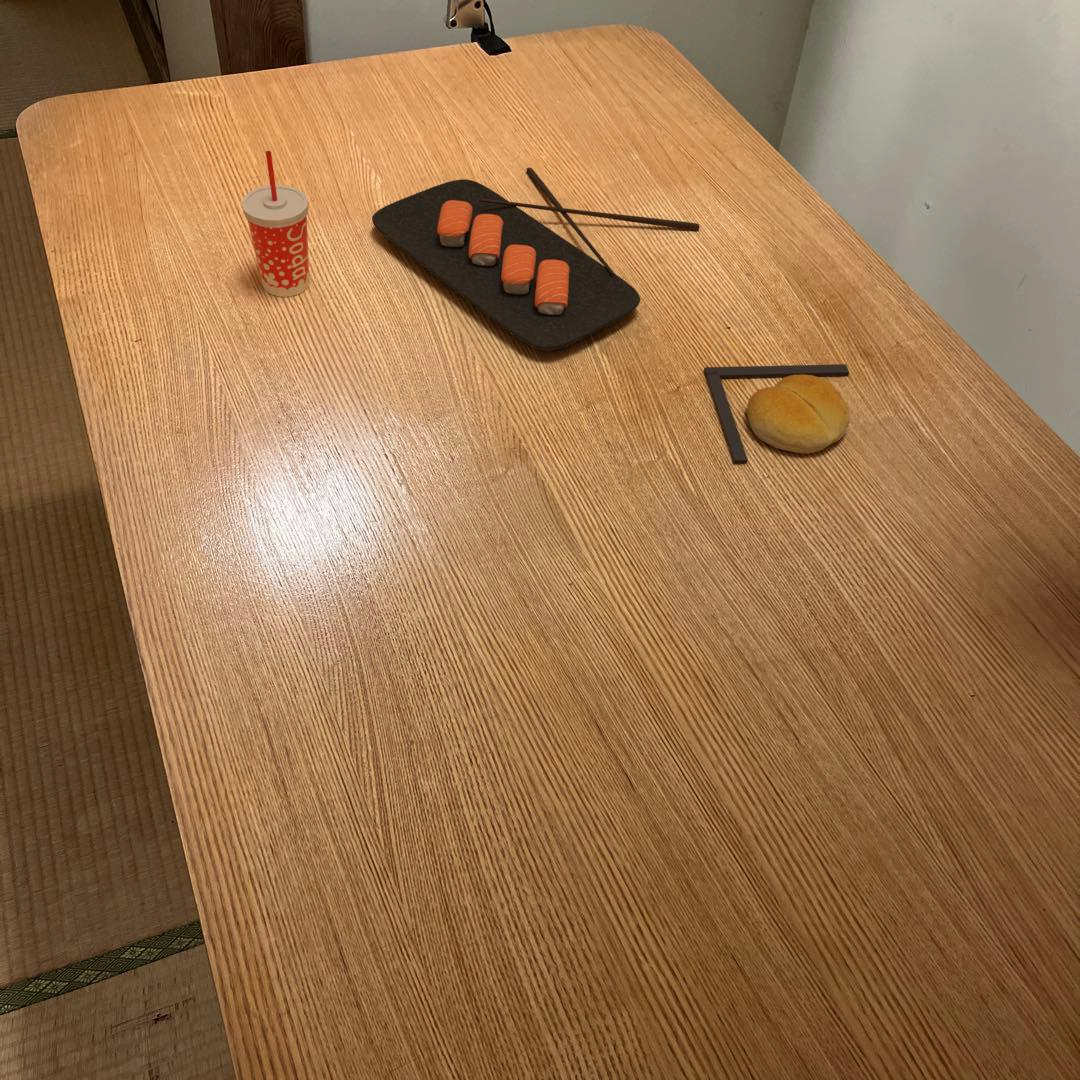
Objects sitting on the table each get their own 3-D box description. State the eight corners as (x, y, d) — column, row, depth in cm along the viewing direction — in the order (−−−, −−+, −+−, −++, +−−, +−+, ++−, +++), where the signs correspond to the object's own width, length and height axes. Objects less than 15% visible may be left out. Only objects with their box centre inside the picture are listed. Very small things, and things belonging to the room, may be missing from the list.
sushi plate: (360, 230, 114) (358, 198, 111) (568, 148, 128) (571, 117, 125) (542, 372, 101) (545, 339, 98) (752, 261, 115) (759, 230, 112)
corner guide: (844, 368, 104) (845, 363, 103) (886, 459, 96) (888, 455, 95) (703, 371, 102) (704, 366, 102) (733, 464, 94) (734, 460, 93)
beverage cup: (272, 308, 104) (252, 176, 94) (243, 276, 107) (221, 145, 97) (328, 289, 107) (315, 158, 96) (299, 258, 110) (283, 129, 100)
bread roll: (727, 416, 98) (736, 382, 95) (799, 384, 102) (809, 350, 99) (789, 471, 94) (800, 437, 91) (861, 436, 97) (874, 402, 94)
